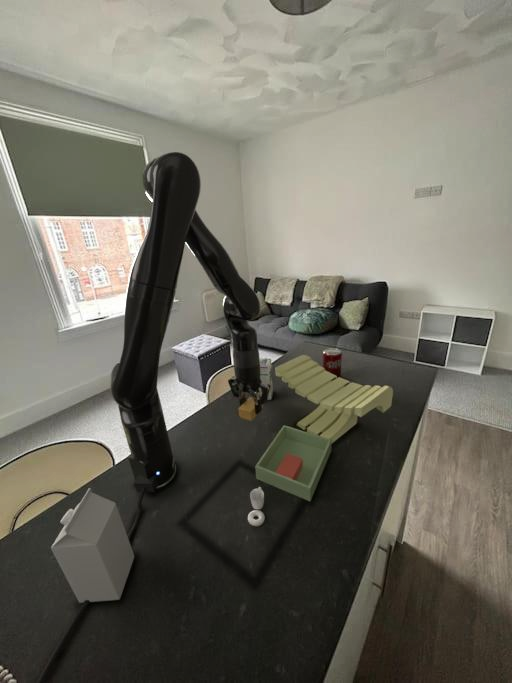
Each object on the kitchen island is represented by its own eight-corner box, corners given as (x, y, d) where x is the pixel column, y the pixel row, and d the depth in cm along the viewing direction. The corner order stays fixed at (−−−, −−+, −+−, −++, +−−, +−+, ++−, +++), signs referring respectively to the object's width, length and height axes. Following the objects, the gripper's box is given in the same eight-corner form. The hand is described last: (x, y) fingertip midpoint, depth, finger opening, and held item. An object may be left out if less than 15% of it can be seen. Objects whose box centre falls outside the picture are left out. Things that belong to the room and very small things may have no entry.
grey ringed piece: (260, 535, 58) (259, 521, 56) (231, 514, 62) (229, 502, 61) (282, 502, 64) (281, 490, 63) (254, 486, 69) (253, 474, 67)
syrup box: (271, 400, 102) (269, 365, 97) (255, 399, 103) (252, 364, 98) (273, 392, 107) (271, 358, 102) (258, 391, 108) (256, 357, 103)
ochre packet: (251, 421, 82) (250, 412, 81) (239, 417, 84) (238, 408, 83) (262, 408, 88) (262, 399, 87) (250, 404, 90) (250, 396, 89)
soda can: (319, 375, 117) (319, 349, 112) (334, 372, 119) (335, 346, 114) (328, 383, 110) (329, 356, 106) (344, 380, 112) (345, 353, 108)
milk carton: (135, 556, 55) (110, 486, 48) (119, 600, 48) (88, 527, 41) (99, 559, 55) (69, 489, 48) (79, 604, 48) (40, 530, 41)
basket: (310, 503, 63) (310, 488, 62) (256, 479, 70) (255, 466, 68) (331, 452, 77) (331, 439, 75) (284, 437, 84) (283, 425, 82)
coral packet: (292, 489, 66) (291, 479, 65) (275, 482, 68) (275, 472, 67) (302, 468, 72) (302, 458, 71) (286, 462, 74) (286, 453, 73)
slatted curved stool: (387, 435, 82) (394, 382, 75) (356, 464, 72) (362, 407, 66) (308, 395, 103) (308, 352, 97) (277, 414, 94) (275, 367, 88)
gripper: (218, 362, 80) (225, 411, 86) (262, 371, 73) (265, 424, 79) (233, 352, 86) (238, 399, 92) (274, 359, 79) (277, 409, 85)
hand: (251, 410), depth 86 cm, fingers closed on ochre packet, 4 cm apart
